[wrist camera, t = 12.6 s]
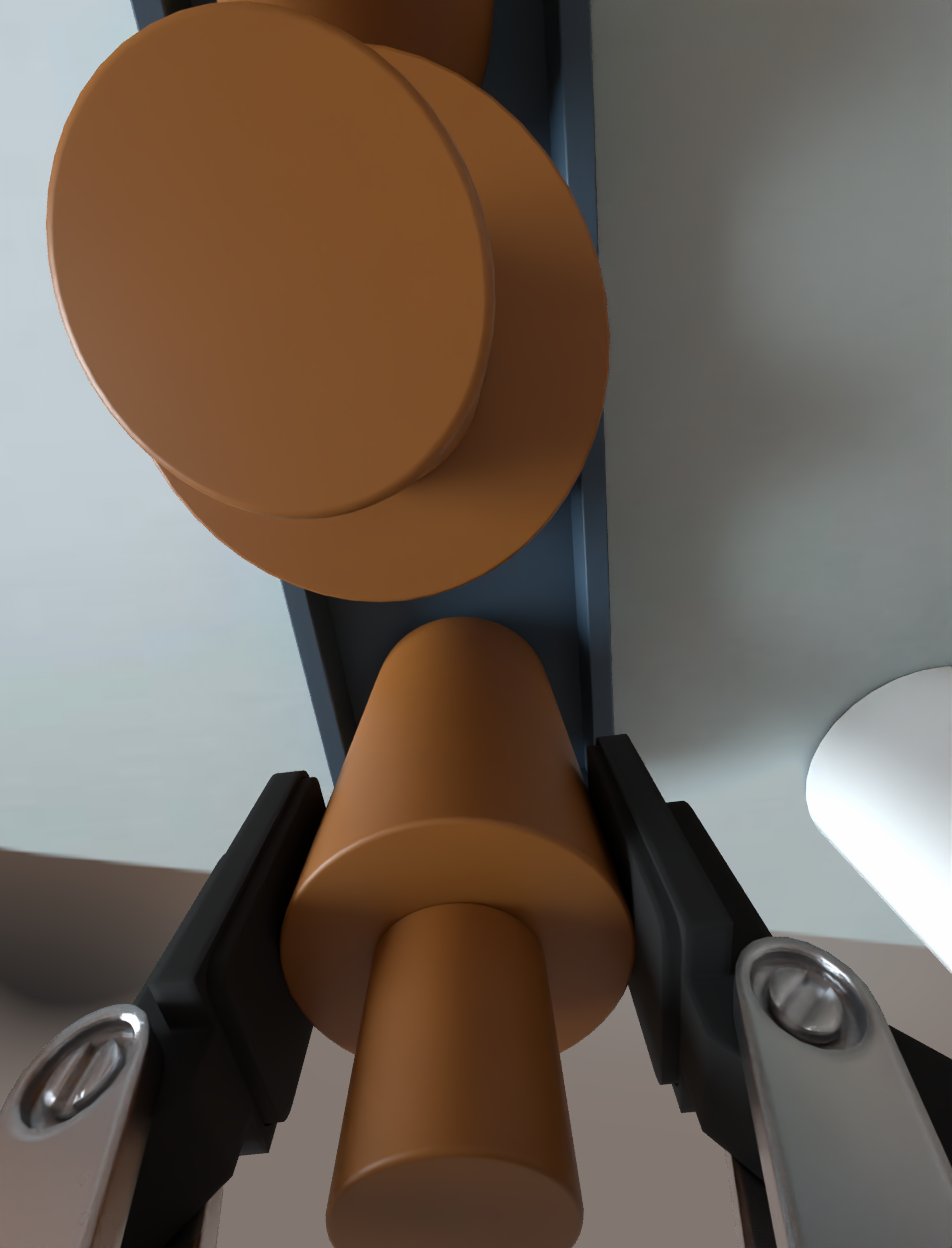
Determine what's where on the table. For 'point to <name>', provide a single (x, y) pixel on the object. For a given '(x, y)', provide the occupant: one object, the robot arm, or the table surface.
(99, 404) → the table surface
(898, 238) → the table surface
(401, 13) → the tray bottle
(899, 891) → the pill bottle
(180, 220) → the tray bottle
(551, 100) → the tray
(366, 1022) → the amber bottle
